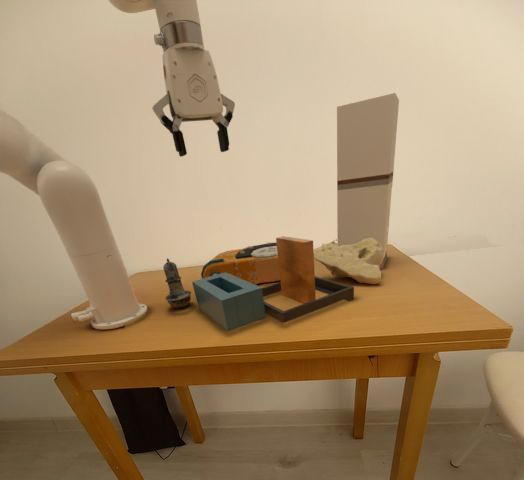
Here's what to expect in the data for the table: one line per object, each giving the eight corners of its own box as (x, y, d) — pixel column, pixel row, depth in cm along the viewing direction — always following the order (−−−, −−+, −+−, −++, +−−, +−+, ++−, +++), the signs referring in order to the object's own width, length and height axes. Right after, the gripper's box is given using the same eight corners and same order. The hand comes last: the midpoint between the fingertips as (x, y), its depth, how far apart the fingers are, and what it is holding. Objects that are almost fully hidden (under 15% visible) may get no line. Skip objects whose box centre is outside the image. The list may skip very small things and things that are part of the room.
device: (210, 245, 91) (307, 231, 89) (216, 271, 96) (309, 259, 93) (196, 263, 72) (319, 246, 70) (204, 296, 76) (320, 280, 74)
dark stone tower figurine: (192, 302, 73) (179, 253, 66) (196, 310, 68) (182, 257, 62) (168, 308, 71) (152, 258, 65) (171, 317, 66) (154, 263, 60)
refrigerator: (386, 257, 84) (399, 100, 66) (382, 269, 76) (395, 92, 58) (345, 258, 89) (347, 111, 71) (337, 269, 81) (336, 106, 63)
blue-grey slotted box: (228, 334, 55) (221, 300, 51) (199, 310, 68) (191, 281, 64) (266, 320, 58) (261, 287, 54) (231, 300, 71) (225, 272, 67)
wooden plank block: (316, 304, 60) (313, 240, 54) (309, 306, 60) (305, 242, 53) (288, 292, 68) (282, 236, 62) (281, 295, 67) (275, 237, 61)
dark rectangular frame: (283, 326, 55) (282, 313, 53) (245, 304, 67) (243, 293, 66) (353, 299, 61) (354, 287, 60) (307, 283, 74) (306, 273, 72)
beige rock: (395, 284, 71) (366, 237, 76) (401, 268, 64) (368, 218, 69) (336, 312, 73) (311, 264, 78) (335, 299, 66) (308, 248, 71)
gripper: (140, 33, 49) (170, 155, 58) (233, 38, 56) (247, 147, 64) (133, 51, 55) (161, 159, 63) (218, 54, 61) (233, 151, 70)
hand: (204, 153), depth 64 cm, fingers open, 9 cm apart
